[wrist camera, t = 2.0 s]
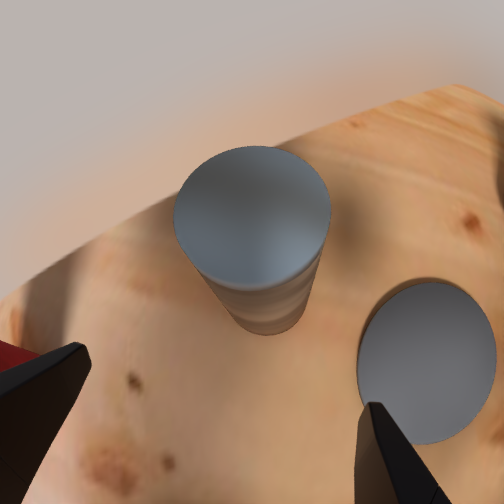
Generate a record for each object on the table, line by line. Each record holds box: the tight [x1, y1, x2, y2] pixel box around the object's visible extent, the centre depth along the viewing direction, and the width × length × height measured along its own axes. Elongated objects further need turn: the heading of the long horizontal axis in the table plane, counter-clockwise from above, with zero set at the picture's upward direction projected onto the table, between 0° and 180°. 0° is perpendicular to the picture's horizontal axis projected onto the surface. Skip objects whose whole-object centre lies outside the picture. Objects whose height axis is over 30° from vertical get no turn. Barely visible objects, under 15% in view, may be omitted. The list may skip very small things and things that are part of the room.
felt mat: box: [357, 283, 497, 444], centre depth 18 cm, size 12×12×1 cm
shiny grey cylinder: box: [173, 146, 331, 336], centre depth 16 cm, size 6×6×12 cm
